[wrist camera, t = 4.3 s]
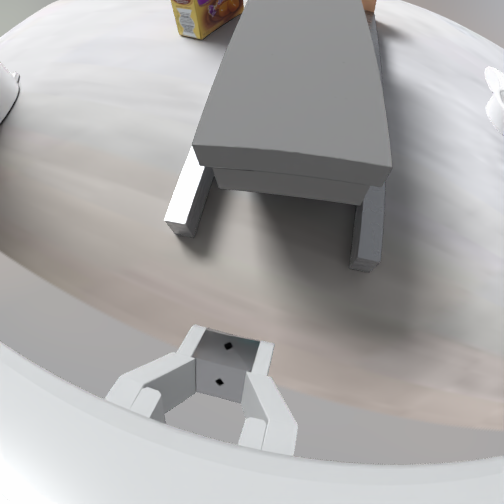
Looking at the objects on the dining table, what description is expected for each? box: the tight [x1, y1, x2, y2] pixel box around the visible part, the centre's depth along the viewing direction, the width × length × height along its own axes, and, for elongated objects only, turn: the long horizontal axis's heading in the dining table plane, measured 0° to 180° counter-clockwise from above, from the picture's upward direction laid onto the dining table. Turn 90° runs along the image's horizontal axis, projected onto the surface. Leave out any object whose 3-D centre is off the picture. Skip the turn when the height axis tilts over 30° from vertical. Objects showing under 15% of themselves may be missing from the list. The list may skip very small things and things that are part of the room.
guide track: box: [164, 10, 385, 272], centre depth 25 cm, size 14×33×2 cm, turn 167°
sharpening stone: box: [192, 0, 392, 206], centre depth 20 cm, size 25×8×11 cm, turn 171°
